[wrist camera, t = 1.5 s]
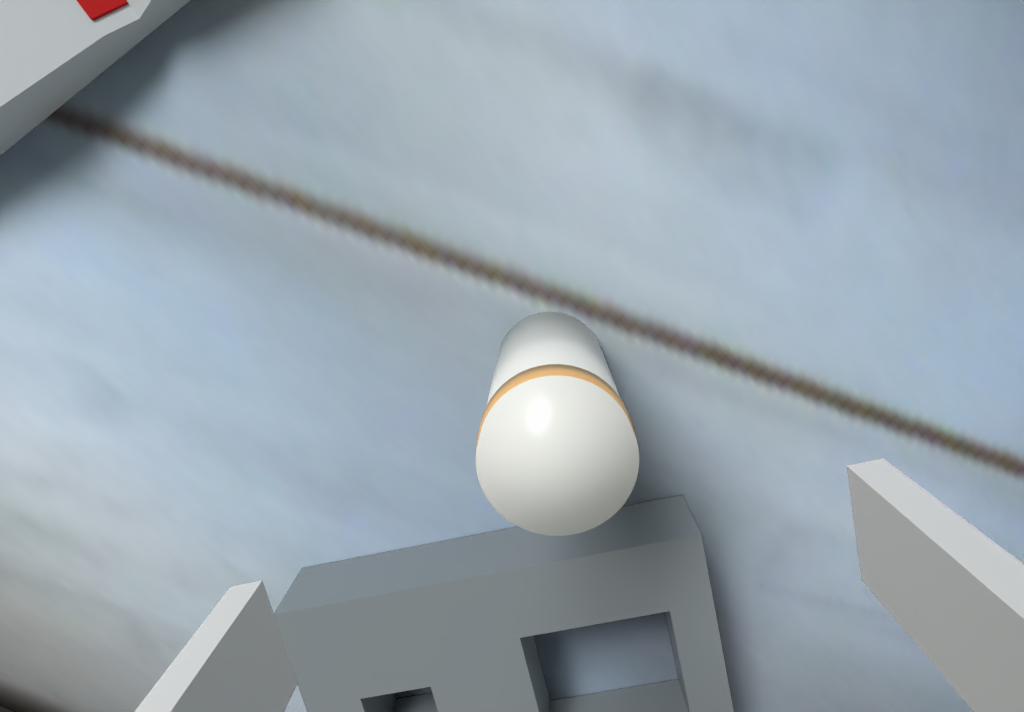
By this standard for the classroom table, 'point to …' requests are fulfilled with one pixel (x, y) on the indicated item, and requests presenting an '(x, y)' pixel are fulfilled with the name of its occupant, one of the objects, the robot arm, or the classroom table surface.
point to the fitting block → (504, 618)
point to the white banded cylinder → (555, 430)
